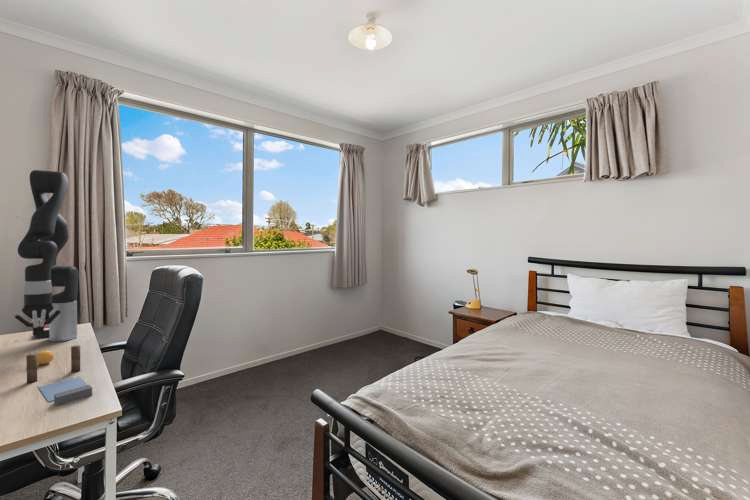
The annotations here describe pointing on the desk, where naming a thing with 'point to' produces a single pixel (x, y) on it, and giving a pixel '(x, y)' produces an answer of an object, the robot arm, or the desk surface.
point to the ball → (45, 357)
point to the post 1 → (31, 368)
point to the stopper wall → (72, 395)
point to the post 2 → (75, 358)
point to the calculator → (45, 332)
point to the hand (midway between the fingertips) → (38, 336)
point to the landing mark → (61, 387)
